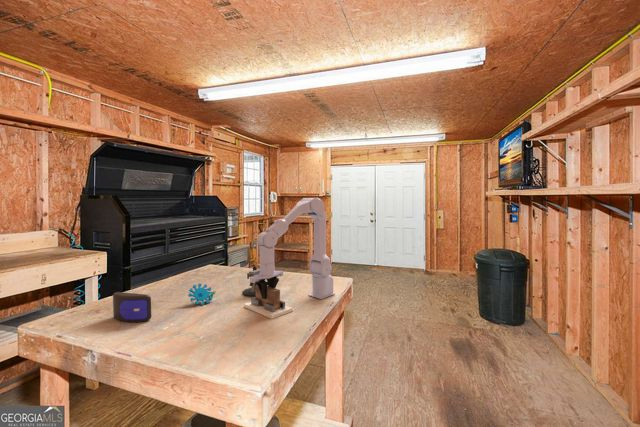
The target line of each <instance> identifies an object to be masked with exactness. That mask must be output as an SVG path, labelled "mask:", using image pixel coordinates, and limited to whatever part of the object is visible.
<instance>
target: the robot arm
mask: <svg viewBox="0 0 640 427" xmlns="http://www.w3.org/2000/svg"><path fill="white" fill-rule="evenodd" d="M302 214H307V215H309V216H310V217H311V218H312V219H313V254H312V255H311V257H310V262H309V264H308V270H309V272H310V273H311V277H312V278H311V280H312V282H311V284H312V288H311V290H312V293H309V294H307V295H308V296H309V297H312V298H316V299H319V300H322V299H326V298H329V297H331V296H333V295H335V292H334V279H333V276H332V275H331V273H332V270H333V267H332V264H331V259H330V257H329V256H328V255H327V213H326V210H325V202H324V201H323V200H322V199H321V198H319V197H303V198H301V199H300V201H297V203H296V204H295V206H294V207H293V208H292V209H291V210H289V212H288V213H287V214H286V215H285V216H284V217H283V218H278V219H275V220H274V221H273V223H272V224H271V225H269V227H266V229H265V231H262V232H260V233H259V234H258V236H257V239H256V244H257V245H258V246H259V247H258V248H259V253H258V254H259V266H260V268H259V269H260V274H258V275H256V276H253V277H249V283H250V282H251V283H255V282H256V284H257V286H258V287H259V290H260V293H261V296H262V298H263V299H266V297H267V286H269V287H272V288H276V287H277V286H278V284H279V282H280V279H279V277H283V276H284V270H275V264H276V263H275V246H276V245H277V244H278V239H280V238H281V237H282V236H283V235H284V234H285V233H286V232H287V231H288V230H289V225H291V224H292V223H293V222H294V221H295V220H297V218H299V217H300V216H301V215H302ZM276 289H277V288H276Z"/></svg>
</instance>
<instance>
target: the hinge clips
mask: <svg viewBox="0 0 640 427" xmlns="http://www.w3.org/2000/svg"><path fill="white" fill-rule="evenodd" d="M250 302H251V304H253V305H255V306H258V307H259V306H260V300H259V299H256V297H250ZM285 305H286V301H284V300H281V299H280V308H282V309H284V308H285ZM264 309H265V310H268V311H270V312H275V305H272V304H270V303H267V302H266V303H264Z"/></svg>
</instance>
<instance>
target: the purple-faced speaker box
mask: <svg viewBox="0 0 640 427" xmlns="http://www.w3.org/2000/svg"><path fill="white" fill-rule="evenodd" d="M112 308H113V309H112V310H113V311H112V312H113V313H112V314H113V315H112V316H113V319H115V320H116V321H118V322H122V323H144V322H148V321H150V320H151V319H152V297H151V296H150V295H149V294H146V293H145V294H144V293H135V292H134V293H131V292H123V291H121V292H120V291H115V292H114V293H113V294H112Z"/></svg>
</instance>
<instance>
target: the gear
mask: <svg viewBox="0 0 640 427" xmlns="http://www.w3.org/2000/svg"><path fill="white" fill-rule="evenodd" d="M202 285H203V284H202V283H201V282H200V283H198V284H193V285H192V287H190V288H189V289H188V295H187V297H189V298H190V302H193V301H194V305H198V304H199V302H200V304H199V305H200V306H204V305H205V304H210V303H211V302H210V301H211V300H213V299H214V295H216V293H217V291H216V290H213V291H212V288H211V287H210V286H209V287H208V284H206V283H205V284H204V285H203V286H202ZM197 286H198V288H197ZM193 289H194V290H193Z"/></svg>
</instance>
